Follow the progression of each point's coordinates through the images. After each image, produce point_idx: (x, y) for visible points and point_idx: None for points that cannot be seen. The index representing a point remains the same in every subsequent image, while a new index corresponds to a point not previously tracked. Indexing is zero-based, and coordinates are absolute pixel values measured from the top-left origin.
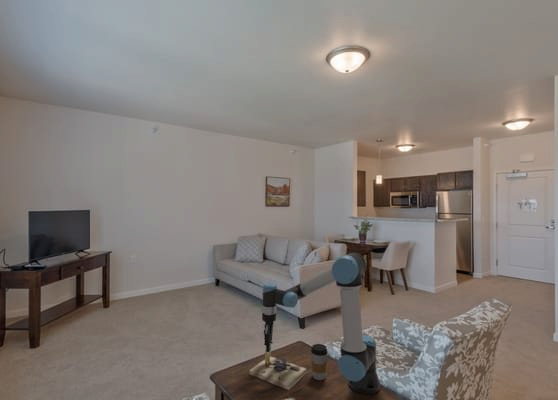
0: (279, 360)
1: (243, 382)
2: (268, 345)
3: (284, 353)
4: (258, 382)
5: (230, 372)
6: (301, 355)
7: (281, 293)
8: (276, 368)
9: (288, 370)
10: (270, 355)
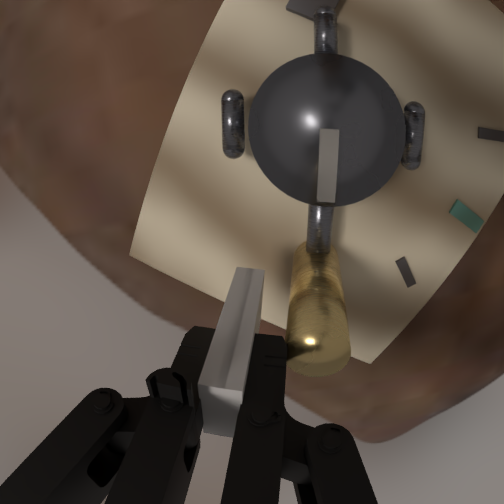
0: (337, 145)
1: (444, 354)
2: (350, 444)
3: (40, 144)
4: (463, 279)
5: (341, 416)
6: (42, 17)
7: None
8: (415, 169)
9: (363, 38)
10: (256, 278)
